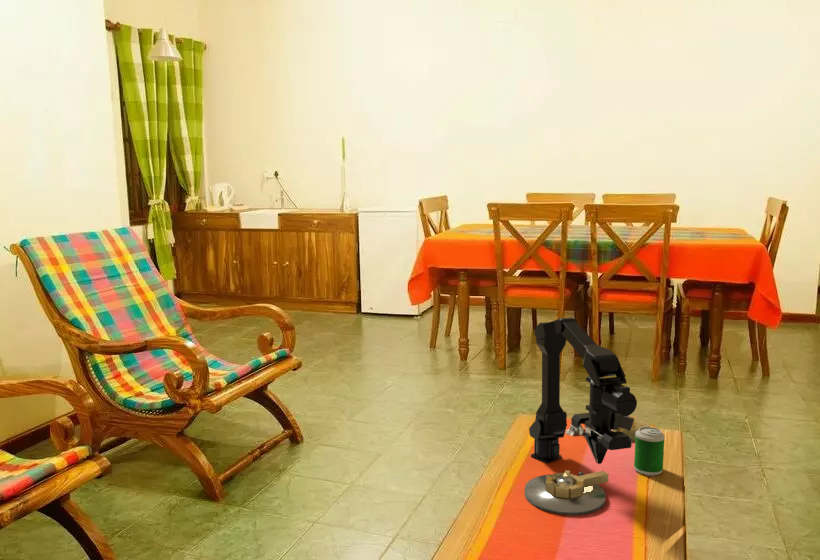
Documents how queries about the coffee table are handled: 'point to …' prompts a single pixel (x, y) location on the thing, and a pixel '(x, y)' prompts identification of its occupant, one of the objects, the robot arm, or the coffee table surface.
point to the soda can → (649, 451)
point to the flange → (563, 505)
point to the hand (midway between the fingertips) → (599, 463)
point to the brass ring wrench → (578, 483)
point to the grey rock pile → (575, 430)
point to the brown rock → (633, 428)
